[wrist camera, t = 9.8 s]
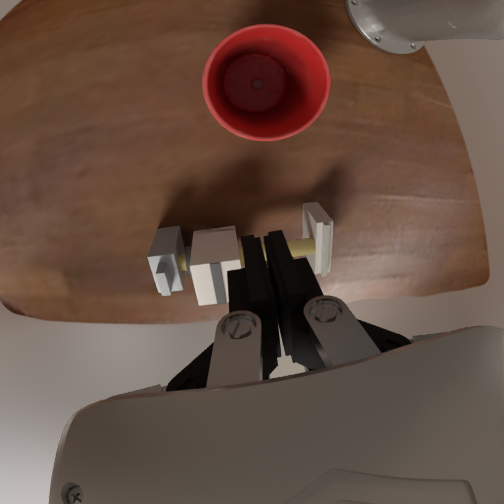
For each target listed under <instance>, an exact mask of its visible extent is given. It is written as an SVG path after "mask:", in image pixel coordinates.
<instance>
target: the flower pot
mask: <svg viewBox="0 0 504 504" xmlns="http://www.w3.org/2000/svg"><path fill="white" fill-rule="evenodd" d="M202 86H203V94H204V98H205V101H206V104H207V106H208V108H209V110H210V112H211V113H212V115H213V116H214V117H215V119H216V120H217V121H218V122H219V123H220V124H221V125H222V126H223V127H224V128H226V129H227V130H229V131H230V132H232V133H234V134H236V135H238V136H240V137H243V138H246V139H250V140H256V141H275V140H280V139H284V138H287V137H290V136H293V135H295V134H297V133H299V132H301V131H303V130H304V129H306V128H307V127H308V126H309V125H311V124H312V123H313V122H314V121H315V120H316V119H317V118H318V116H319V115H320V114H321V112H322V111H323V109H324V107H325V105H326V103H327V100H328V97H329V94H330V87H331V75H330V70H329V66H328V64H327V61H326V59H325V57H324V55H323V53H322V52H321V51H320V49H319V48H318V47H317V46H316V45H315V43H314V42H312V41H311V40H310V39H309V38H308V37H306V36H305V35H303V34H302V33H300V32H298V31H296V30H294V29H291V28H289V27H285V26H281V25H276V24H256V25H251V26H247V27H244V28H241V29H239V30H237V31H235V32H233V33H231V34H230V35H228V36H227V37H226V38H224V39H223V40H222V41H221V42H220V43H219V44H218V45H217V46H216V47H215V48H214V50H213V51H212V52H211V54H210V56H209V58H208V60H207V62H206V65H205V68H204V72H203V79H202Z"/></svg>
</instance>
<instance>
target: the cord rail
mask: <svg viewBox="0 0 504 504" xmlns="http://www.w3.org/2000/svg"><path fill="white" fill-rule="evenodd" d="M332 236H333V220H332V219H331V218H330V217H329V215H328V214H327V213H326V212H325V210H324V209H323V208H322V207H321V206H320V204H319V203H318V202H309V203H303V239H296V240H288V241H286V242H287V244H288V247H289V249H290V252H291V255H292V257H296V256H303V255H306V257H307V259H308V261H309V263H310V265H311V267H312V269H313V271H314V273H315V274H319V273H320V274H321V276H322V277H326V276H327V272H330V266H331V252H332ZM262 248H263V252H264V256H265V260H267V259H266V251H265V244H262ZM191 249H192V246H187V247H185V248H184V243H183V239H182V234H181V229H180V225H179V226H173V227H166V228H159V229H157V231H156V234H155V237H154V240H153V243H152V246H151V249H150V252H149V254H148V260H149V264H150V267H151V270H152V273H153V277H154V280H155V283H156V286H157V289H158V292H159V293H162V296H167V295H171V292H172V291H179V290H183V285H184V277H185V271H187V272H188V275H189V277H192V274H191V270H190V258H191ZM238 250H239V257H240V264H243V263H244V256H243V249H242V246H240V247H238Z"/></svg>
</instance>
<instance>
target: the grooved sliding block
mask: <svg viewBox="0 0 504 504" xmlns="http://www.w3.org/2000/svg"><path fill="white" fill-rule="evenodd" d="M236 269H241V264H240V257H239V250H238V243H237V237H236V230H235V226H229V227H221V228H213V229H206V230H198V231H194V233H193V241H192V249H191V258H190V270H191V274H192V278H193V282H194V287H195V291H196V295H197V299H198V303H199V306H200V305H208V304H217V305H218V304H227V302H229V298H228V282H227V271H230V270H236Z"/></svg>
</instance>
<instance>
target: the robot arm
mask: <svg viewBox="0 0 504 504" xmlns="http://www.w3.org/2000/svg"><path fill="white" fill-rule="evenodd" d="M345 2H346V8H347V11H348V14H349V17H350V19H351V21H352V23H353V24H354V26H355V27H356V29H357V30H358V31H359V32H360V34H361V35H362V36H363V37H364V38H365V39H366V40H368V41H369V42H370V43H371V44H373V45H374V46H376V47H377V48H379V49H381V50H383V51H385V52H389V53H393V54H409V53H413V52H415V51H417V50H419V49H420V48H421V47H422V46H423V45H424V44H425V43H426V41H429V40H448V39H488V40H490V39H491V40H502V39H504V0H345ZM351 2H352V3H353V4H352V3H351ZM375 39H376V40H375ZM241 242H242V249H243V256H244V263H245V268H242V269H236V270H230V271H227V282H228V298H229V314H227V315H225V316H224V317H222V319H221V320H220V321H219V323H218V325H217V328H216V334H215V340H214V342H213V343H212V344H211V345H210V346H209V347H208V348H207V349H206V350H204V351H203V352H202V353H201V354H200V355H199V356H198V357H197V358H195V359H194V360H193V361H192V362H191V363H190V364H189V365H188V366H186V367H185V368H184V369H183V370H182V371H181V372H180V373H178V374H177V375H176V376H175V377H174V378H173V379H172V380H171V381H170V382H169V383H168V385H167V386H163V387H161V385H160V384H159V385H155V386H152V387H148V388H144V389H140V390H136V391H132V392H128V393H124V394H119V395H115V396H112V397H109V398H107V399H105V400H101V401H98V402H95V403H93V404H90V405H88V406H86V407H84V408H82V409H80V410H79V411H77V412H76V413H75V414H74V415H73V416H72V417H71V418H70V419H69V421H68V422H67V424H66V426H65V428H64V431H63V433H62V436H61V439H60V442H59V445H58V449H57V453H56V457H55V463H54V467H53V472H52V479H51V487H50V496H49V504H504V329H502V328H499V327H495V326H473V327H465V328H461V329H457V330H453V331H450V332H443V333H435V334H426V335H417V336H412V339H407V338H406V337H404V336H402V335H400V334H397V333H394V332H391V331H388V330H386V329H383V328H380V327H377V326H375V325H372V324H369V323H366V322H363V321H361V320H358V319H356V317H355V316H354V315H353V314H352V312H351V311H350V310H349V308H348V307H347V305H346V304H345V303H344V302H343V301H342V300H341V299H339V298H337V297H334V296H327V295H323V293H322V290H321V288H320V286H319V284H318V282H317V279H316V277H315V275H314V273H313V270H312V268H311V266H310V264H309V262H308V260H307V258H300V259H294V260H293V257H292V255H291V252H290V249H289V247H288V244H287V242H286V239H285V237H284V234H283V232H282V230H278V231H272V232H268V236H264V244H265V251H266V259H267V264H266V260H265V256H264V252H263V248H262V244H261V240H260V237H258V238H255V237H254V235H248V236H242V237H241ZM267 267H268V268H267ZM278 325H279V329H280V333H281V337H282V342H283V346H284V350H285V354H286V356H288V355H291V357H292V361H293V363H295V362H297V363H299V364H301V365H303V366H305V371H306V372H304V373H299V374H294V375H288V376H283V377H278V378H272V379H270V374H271V373H272V371H273V370H274V369H275V368H276V367H277V366H278V362H277V357H281V347H280V338H279V329H278Z"/></svg>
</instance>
